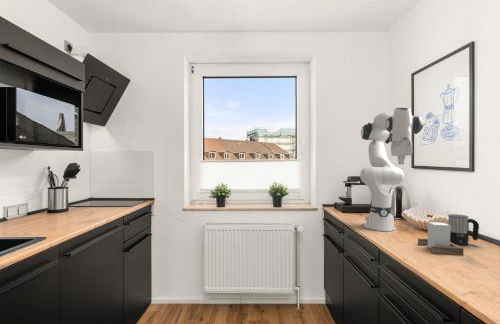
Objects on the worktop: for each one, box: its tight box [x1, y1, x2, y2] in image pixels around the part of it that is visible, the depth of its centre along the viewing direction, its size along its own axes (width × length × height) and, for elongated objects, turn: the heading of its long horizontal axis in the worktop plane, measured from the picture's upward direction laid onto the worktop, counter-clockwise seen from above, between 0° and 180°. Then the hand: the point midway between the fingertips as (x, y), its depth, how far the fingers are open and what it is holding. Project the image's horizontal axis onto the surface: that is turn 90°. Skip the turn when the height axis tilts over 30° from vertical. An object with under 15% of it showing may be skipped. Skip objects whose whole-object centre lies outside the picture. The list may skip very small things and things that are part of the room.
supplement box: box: [427, 221, 450, 249], centre depth 153 cm, size 7×7×13 cm
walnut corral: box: [417, 238, 465, 256], centre depth 153 cm, size 16×14×3 cm
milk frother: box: [447, 213, 480, 246], centre depth 168 cm, size 14×16×15 cm
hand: (401, 164), depth 164 cm, fingers closed
